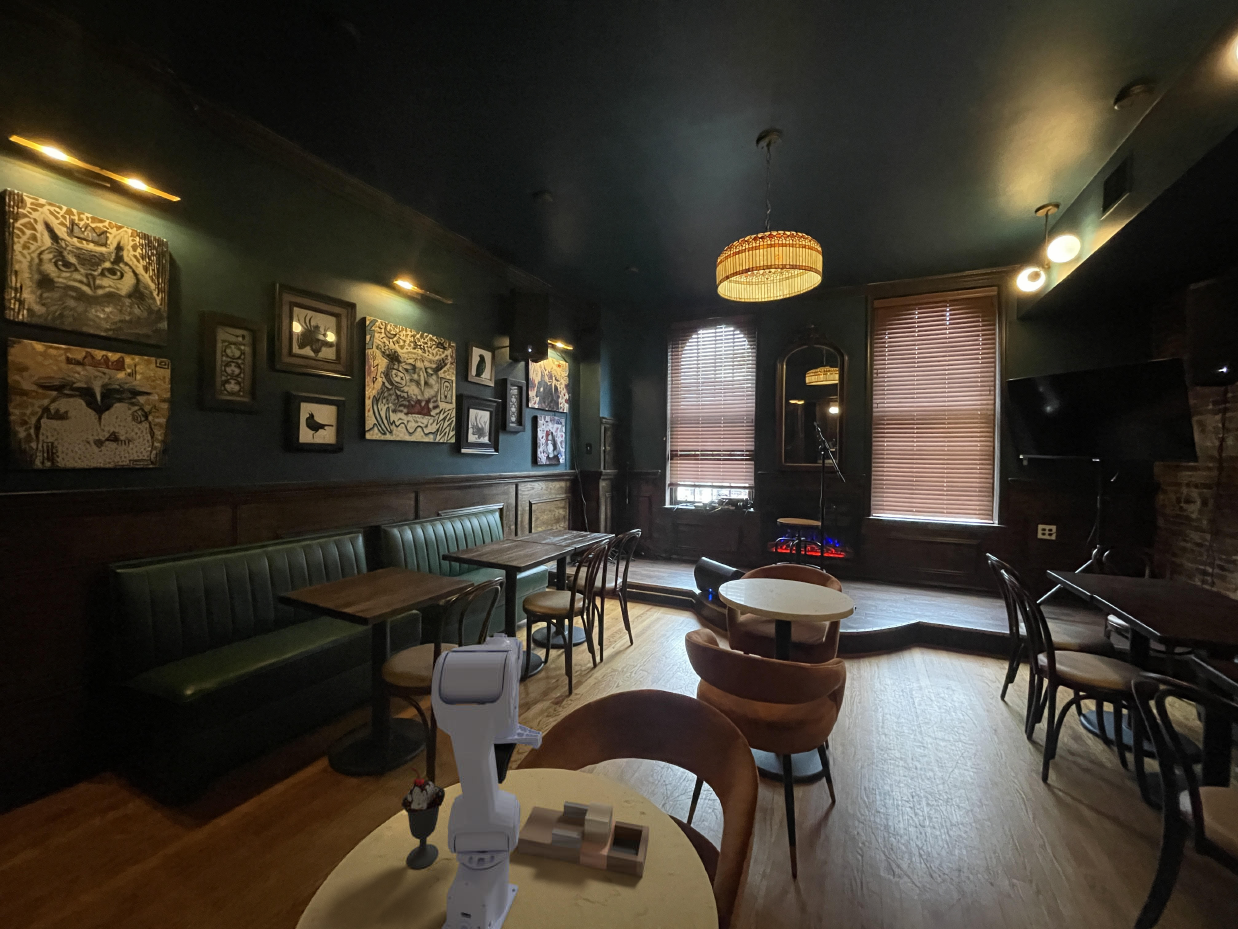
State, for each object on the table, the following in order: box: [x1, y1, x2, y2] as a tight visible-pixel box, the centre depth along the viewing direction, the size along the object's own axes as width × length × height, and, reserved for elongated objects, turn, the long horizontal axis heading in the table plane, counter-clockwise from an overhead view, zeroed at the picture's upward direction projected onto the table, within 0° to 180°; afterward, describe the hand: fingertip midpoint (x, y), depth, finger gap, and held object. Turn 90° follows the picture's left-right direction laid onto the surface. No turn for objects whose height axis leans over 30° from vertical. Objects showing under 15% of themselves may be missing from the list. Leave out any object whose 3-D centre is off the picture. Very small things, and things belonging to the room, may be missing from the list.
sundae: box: [401, 767, 446, 870], centre depth 81 cm, size 7×7×15 cm
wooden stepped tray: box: [517, 800, 650, 878], centre depth 85 cm, size 8×22×4 cm, turn 79°
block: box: [584, 801, 614, 845], centre depth 84 cm, size 4×4×4 cm
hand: (500, 779), depth 87 cm, fingers closed
